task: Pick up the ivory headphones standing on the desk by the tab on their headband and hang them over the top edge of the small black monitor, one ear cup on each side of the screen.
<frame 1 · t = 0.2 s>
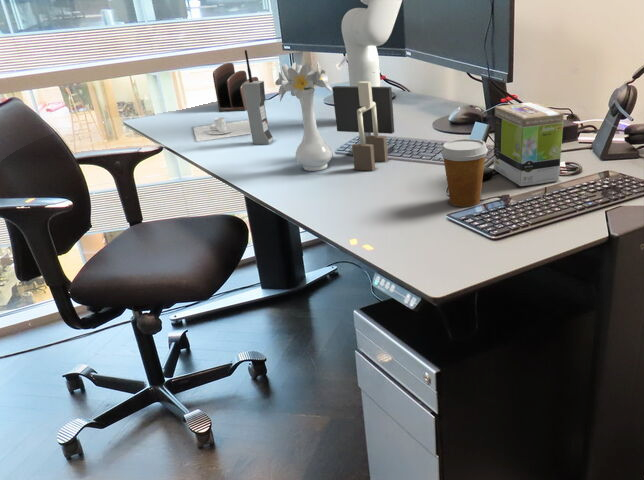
letter holder: (241, 105, 241), on the table
flower vase: (313, 168, 167), on the table
vintage mobile phone: (263, 143, 192), on the table
monitor: (367, 154, 173), on the table
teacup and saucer: (226, 130, 209), on the table
tea box: (525, 176, 150), on the table
disposable coffee cup: (464, 202, 138), on the table
headphones: (371, 164, 166), on the table
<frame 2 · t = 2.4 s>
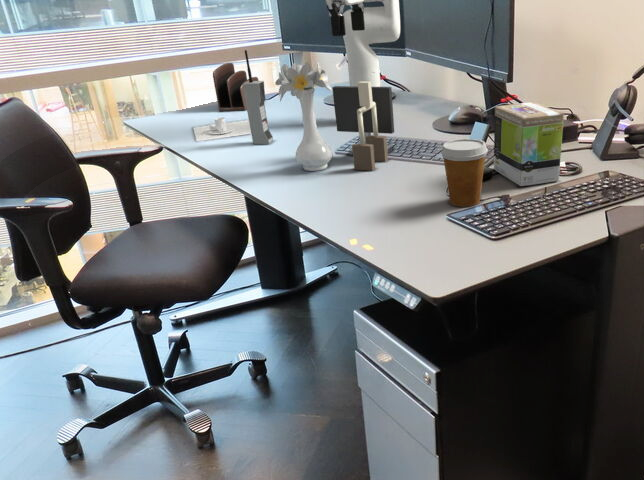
hand: (349, 32, 152), 30 cm above the table, tool pointing down, fingers open, 9 cm apart
nothing on the table moved.
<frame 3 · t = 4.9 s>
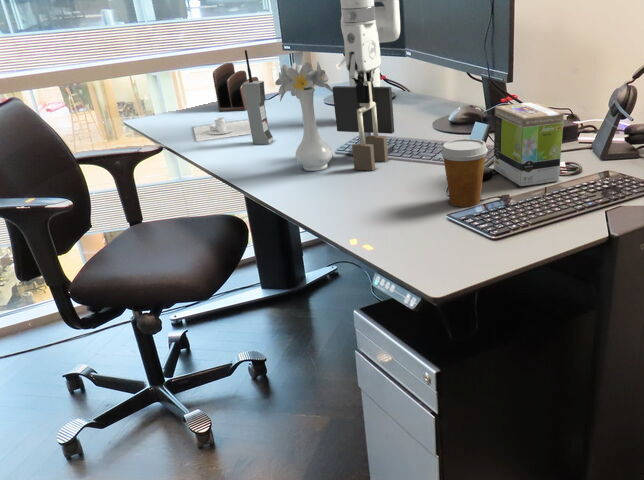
hand: (365, 101, 157), 15 cm above the table, tool pointing down, fingers closed on headphones
headphones: (371, 164, 166), on the table, touching gripper
everything else where it was.
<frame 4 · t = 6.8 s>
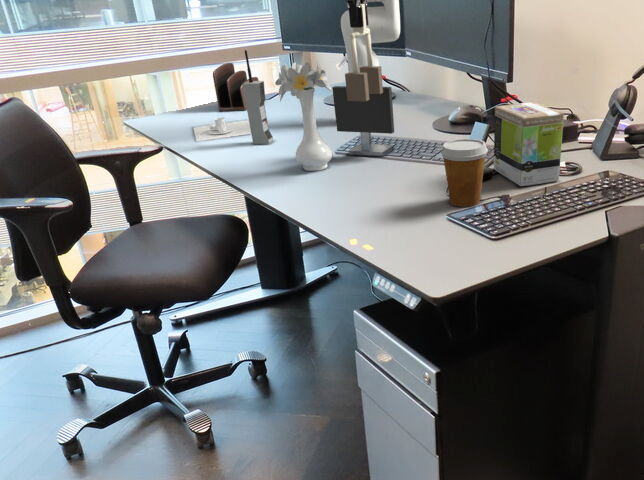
hand: (359, 25, 149), 32 cm above the table, tool pointing down, fingers closed on headphones
headphones: (365, 96, 157), point 16 cm above the table, touching gripper
everything else where it was.
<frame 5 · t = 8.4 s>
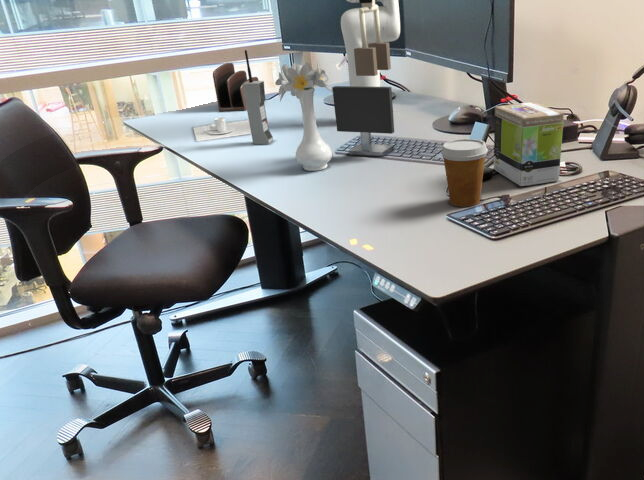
hand: (368, 1, 152), 36 cm above the table, tool pointing down, fingers closed on headphones
headphones: (373, 72, 160), point 21 cm above the table, touching gripper
everything else where it was.
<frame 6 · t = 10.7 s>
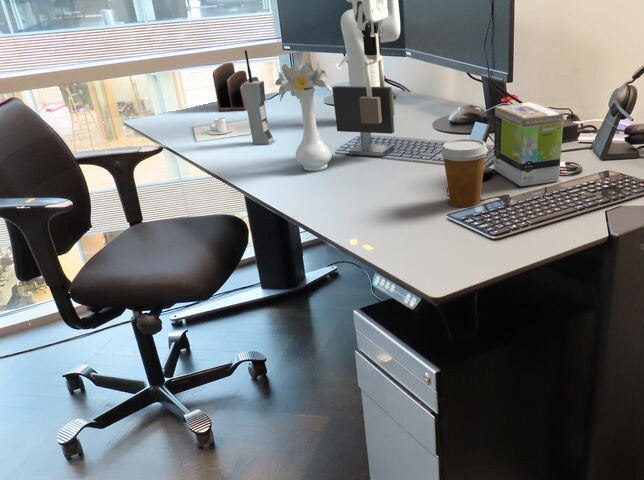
hand: (373, 53, 159), 25 cm above the table, tool pointing down, fingers closed on headphones
headphones: (378, 119, 167), point 9 cm above the table, touching gripper
everything else where it was.
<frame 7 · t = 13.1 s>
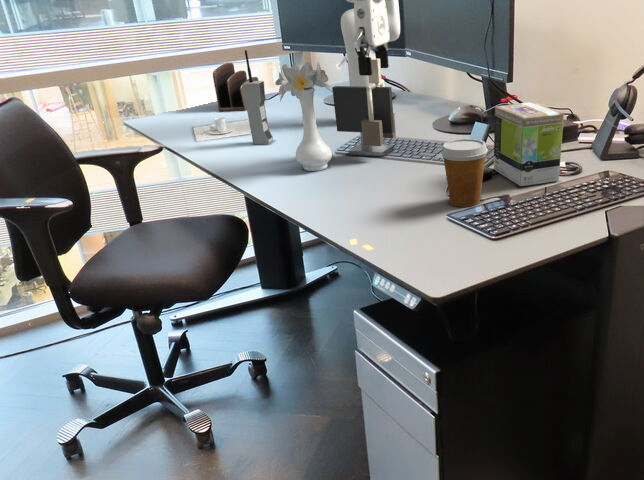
hand: (374, 71, 161), 21 cm above the table, tool pointing down, fingers open, 9 cm apart
headphones: (379, 141, 170), point 4 cm above the table, touching monitor
everything else where it was.
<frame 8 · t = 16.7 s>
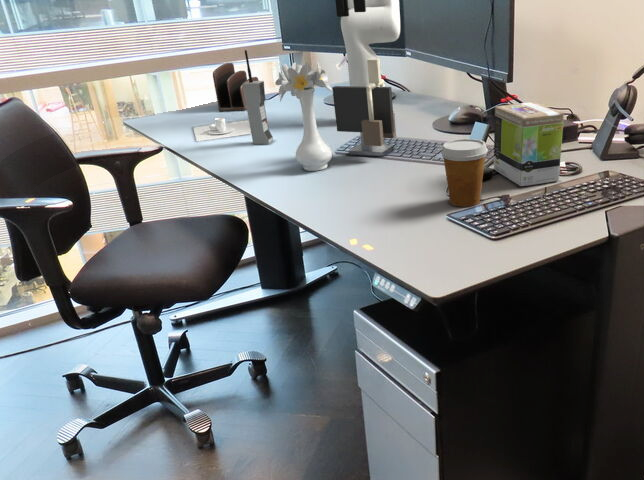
hand: (351, 14, 168), 32 cm above the table, tool pointing down, fingers open, 9 cm apart
nothing on the table moved.
at the end: headphones 0.1 cm from the target spot on the monitor, point 3.8 cm above the monitor's base; headphones touching monitor; the gripper is holding nothing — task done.
